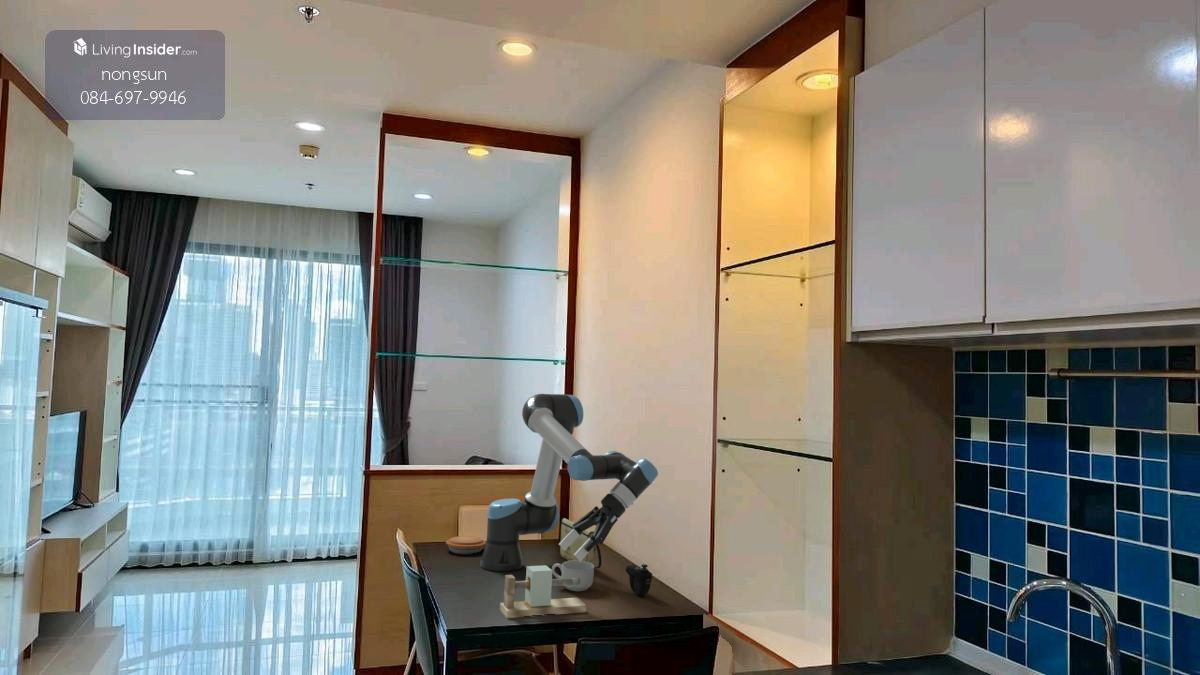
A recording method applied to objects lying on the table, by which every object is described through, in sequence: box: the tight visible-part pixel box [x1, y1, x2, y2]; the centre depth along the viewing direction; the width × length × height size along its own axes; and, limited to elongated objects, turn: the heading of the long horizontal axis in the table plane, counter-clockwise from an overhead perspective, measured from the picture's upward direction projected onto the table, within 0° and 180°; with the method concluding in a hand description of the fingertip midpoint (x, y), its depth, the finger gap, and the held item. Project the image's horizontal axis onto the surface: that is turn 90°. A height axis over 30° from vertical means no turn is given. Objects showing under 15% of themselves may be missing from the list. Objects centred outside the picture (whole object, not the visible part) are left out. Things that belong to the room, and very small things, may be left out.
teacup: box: [551, 560, 595, 592], centre depth 245 cm, size 14×11×8 cm
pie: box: [445, 535, 487, 555], centre depth 291 cm, size 15×16×5 cm
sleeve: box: [524, 565, 553, 607], centre depth 219 cm, size 6×6×10 cm
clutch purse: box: [559, 517, 602, 569], centre depth 278 cm, size 30×7×15 cm, turn 25°
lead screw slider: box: [499, 574, 587, 619], centre depth 220 cm, size 24×8×10 cm, turn 112°
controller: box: [625, 563, 653, 596], centre depth 242 cm, size 4×12×10 cm, turn 27°
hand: (569, 552), depth 223 cm, fingers open, 13 cm apart
